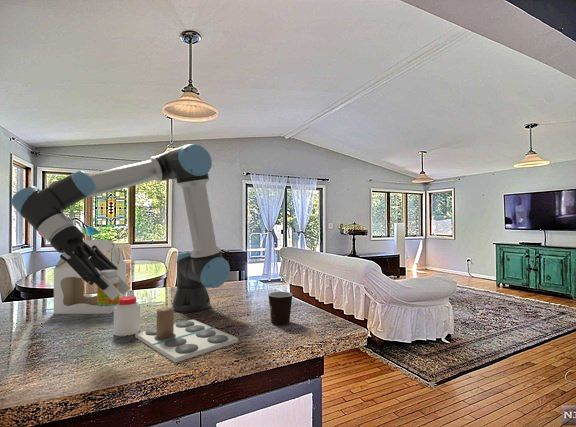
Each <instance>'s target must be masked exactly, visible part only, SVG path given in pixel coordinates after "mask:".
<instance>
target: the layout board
mask: <svg viewBox="0 0 576 427" xmlns="http://www.w3.org/2000/svg"><path fill="white" fill-rule="evenodd" d="M174 312H175V310H174V308H172V306H170V307H169V306H167V307H160V308H158V309H156V327H153V328H149V329H147V330H144V331H143V330H142V331H139V332H138V333H135V334H134V335H135V336H134V337H135V338H136V339H137V338H138V341H140V342H142V343H144V344H145V345H147V346H148V347H150V348H151V349H153V350H155V352H158V353H159V354H160V355H162V356H164V357H165V358H167V359H168V360H170V361H171V362H173V363H178V362H182V361H185V360H188V359H191V358H194V357H197V356H200V355H203V354H206V353H210V352H212V351H215V350H218V349H221V348H224V347H227V346H230V345H233V344H237V343H239V337H238V336H234V335H233V334H230V333H227V332H225V331H222V330H220V329H218V328H215V327H214V326H210V325H208V324H205V323H204V322H201V321H198V320H196V319H189V320H183V321H178V322H176V323H174V317H175V316H174V315H175V313H174Z"/></svg>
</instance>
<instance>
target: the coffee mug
mask: <svg viewBox="0 0 576 427" xmlns="http://www.w3.org/2000/svg"><path fill="white" fill-rule="evenodd" d="M267 295H268V305H269V311H270V312H269V314H270V323H271V324H272V325H274V326H278V327H279V326H288V325H289V324H290V319H291V312H292V311H291V310H292V304H293V303H292V302H293V293H291V292H289V291H273V292H269V293H268V294H267Z"/></svg>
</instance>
